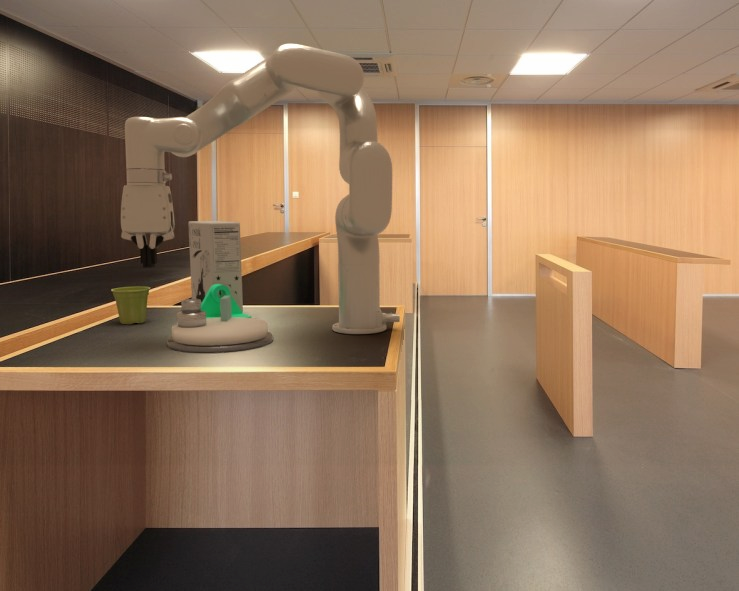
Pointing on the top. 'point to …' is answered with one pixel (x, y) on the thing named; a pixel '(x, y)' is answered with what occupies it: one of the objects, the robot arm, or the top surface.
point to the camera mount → (213, 303)
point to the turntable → (222, 329)
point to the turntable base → (220, 346)
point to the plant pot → (131, 304)
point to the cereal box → (215, 258)
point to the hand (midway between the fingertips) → (149, 267)
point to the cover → (191, 314)
